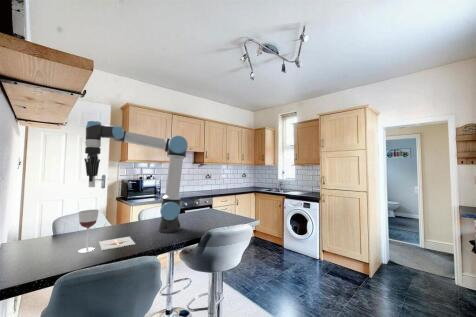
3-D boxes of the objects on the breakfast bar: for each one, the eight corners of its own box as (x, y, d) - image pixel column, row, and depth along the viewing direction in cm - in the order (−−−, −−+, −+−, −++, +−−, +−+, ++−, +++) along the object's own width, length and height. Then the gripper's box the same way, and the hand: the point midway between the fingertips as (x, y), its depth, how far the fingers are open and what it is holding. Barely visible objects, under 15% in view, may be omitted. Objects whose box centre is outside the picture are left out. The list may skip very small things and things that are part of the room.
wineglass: (72, 251, 108) (74, 212, 109) (89, 246, 116) (91, 209, 117) (84, 253, 105) (86, 213, 106) (100, 247, 113) (102, 210, 115)
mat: (129, 237, 132) (129, 236, 132) (135, 244, 119) (135, 243, 119) (98, 242, 122) (98, 241, 122) (101, 250, 109) (101, 249, 109)
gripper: (92, 148, 132) (90, 186, 130) (79, 145, 119) (78, 188, 118) (105, 148, 133) (104, 186, 132) (94, 146, 120) (92, 187, 119)
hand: (91, 187), depth 125 cm, fingers closed
